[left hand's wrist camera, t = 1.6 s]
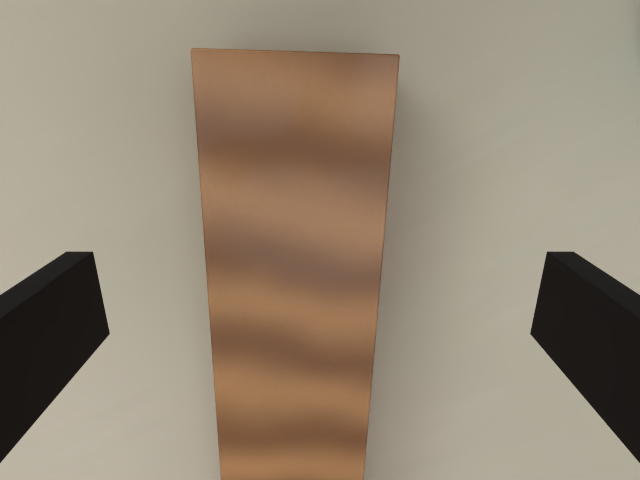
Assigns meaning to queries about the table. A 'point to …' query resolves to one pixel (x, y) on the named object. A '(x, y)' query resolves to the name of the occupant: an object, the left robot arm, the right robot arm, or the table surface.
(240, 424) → the wide beam
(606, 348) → the left robot arm
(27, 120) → the table surface
